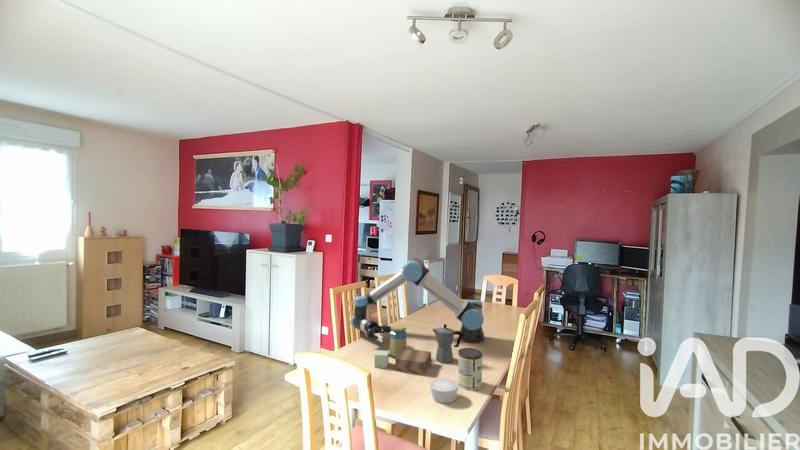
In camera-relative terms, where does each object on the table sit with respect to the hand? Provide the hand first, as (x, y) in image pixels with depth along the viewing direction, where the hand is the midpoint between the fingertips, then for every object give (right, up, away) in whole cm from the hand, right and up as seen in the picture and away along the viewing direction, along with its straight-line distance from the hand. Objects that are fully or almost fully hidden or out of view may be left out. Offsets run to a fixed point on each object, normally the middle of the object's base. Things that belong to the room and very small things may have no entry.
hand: (392, 336), depth 184 cm
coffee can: (+34, -10, -34) cm, 49 cm away
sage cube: (-5, -9, -16) cm, 19 cm away
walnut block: (+10, -9, -17) cm, 22 cm away
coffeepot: (+27, -9, -9) cm, 30 cm away
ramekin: (+21, -10, -46) cm, 52 cm away
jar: (+3, -9, -3) cm, 10 cm away
